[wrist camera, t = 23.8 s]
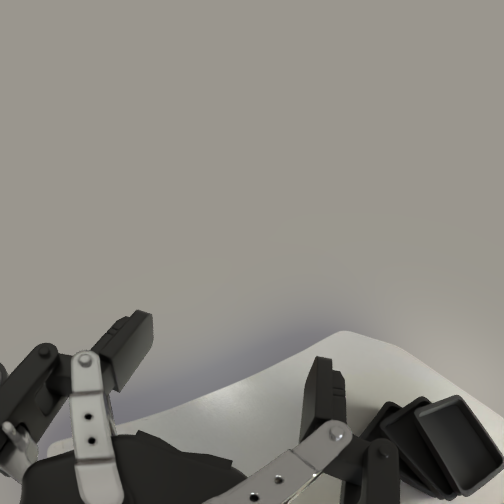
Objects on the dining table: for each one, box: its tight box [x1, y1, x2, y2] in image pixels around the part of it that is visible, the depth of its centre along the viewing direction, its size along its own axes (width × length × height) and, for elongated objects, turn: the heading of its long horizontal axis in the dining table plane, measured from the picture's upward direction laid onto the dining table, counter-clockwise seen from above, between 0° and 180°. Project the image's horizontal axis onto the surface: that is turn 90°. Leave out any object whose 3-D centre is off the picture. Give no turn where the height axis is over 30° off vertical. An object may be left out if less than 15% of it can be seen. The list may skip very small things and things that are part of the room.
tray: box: [359, 395, 504, 501], centre depth 35 cm, size 30×23×5 cm
